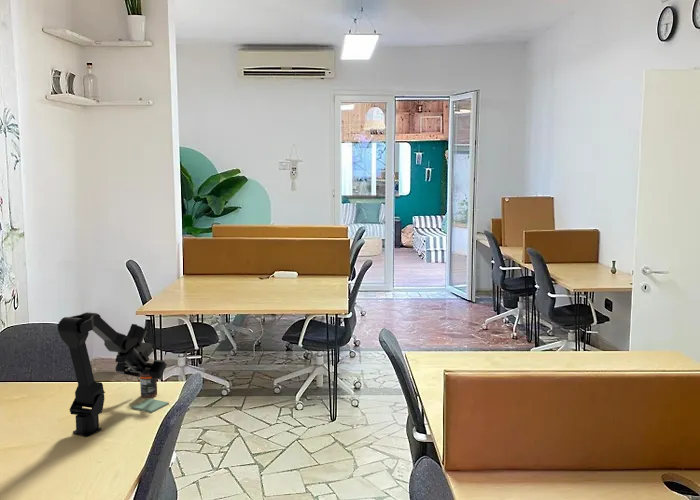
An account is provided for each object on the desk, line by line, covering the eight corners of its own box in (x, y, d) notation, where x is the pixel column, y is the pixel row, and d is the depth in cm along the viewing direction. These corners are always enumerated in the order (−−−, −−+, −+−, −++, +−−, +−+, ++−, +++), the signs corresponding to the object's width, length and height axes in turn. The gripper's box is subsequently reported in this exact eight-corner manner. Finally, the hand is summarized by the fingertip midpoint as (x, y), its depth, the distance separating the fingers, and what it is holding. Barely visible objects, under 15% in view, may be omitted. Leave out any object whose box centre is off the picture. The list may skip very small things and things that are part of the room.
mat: (151, 412, 224) (151, 411, 224) (132, 408, 227) (131, 406, 227) (168, 404, 232) (168, 402, 232) (149, 399, 236) (149, 398, 235)
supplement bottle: (151, 391, 244) (150, 362, 243) (160, 395, 241) (159, 366, 239) (137, 395, 240) (136, 366, 238) (146, 399, 236) (145, 370, 234)
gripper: (163, 340, 231) (180, 360, 242) (119, 335, 236) (138, 356, 248) (150, 367, 224) (169, 387, 236) (105, 362, 229) (126, 382, 241)
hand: (150, 377), depth 241 cm, fingers open, 9 cm apart
